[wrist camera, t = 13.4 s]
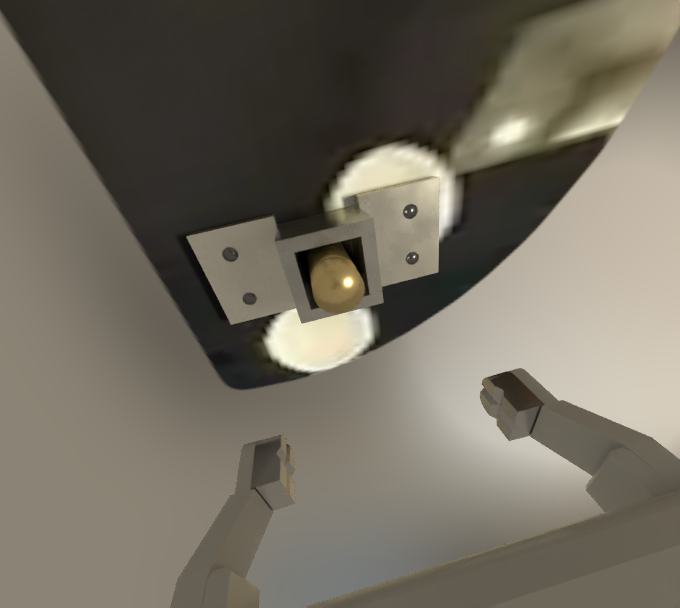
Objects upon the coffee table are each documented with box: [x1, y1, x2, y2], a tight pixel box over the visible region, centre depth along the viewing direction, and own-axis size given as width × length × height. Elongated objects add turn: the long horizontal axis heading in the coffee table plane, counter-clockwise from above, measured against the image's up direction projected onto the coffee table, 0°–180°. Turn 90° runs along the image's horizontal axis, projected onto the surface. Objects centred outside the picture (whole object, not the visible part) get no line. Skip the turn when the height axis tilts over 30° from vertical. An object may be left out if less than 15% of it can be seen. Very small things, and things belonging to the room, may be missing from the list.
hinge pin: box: [306, 242, 365, 314], centre depth 24 cm, size 4×4×9 cm
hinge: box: [186, 176, 440, 325], centre depth 25 cm, size 10×24×6 cm, turn 101°
